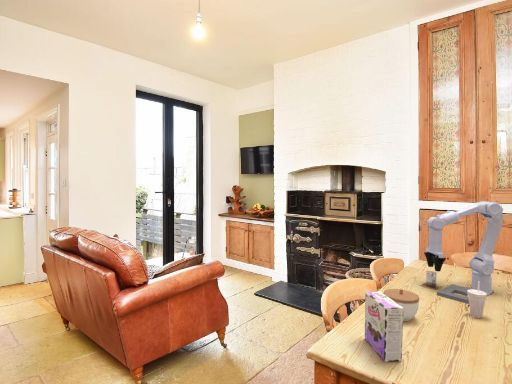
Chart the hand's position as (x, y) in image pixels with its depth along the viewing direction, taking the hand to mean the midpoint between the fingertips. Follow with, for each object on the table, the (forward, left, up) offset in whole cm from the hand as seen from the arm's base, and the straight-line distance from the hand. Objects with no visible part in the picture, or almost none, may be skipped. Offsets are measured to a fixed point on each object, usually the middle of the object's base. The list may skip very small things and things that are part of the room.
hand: (434, 268), depth 153 cm
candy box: (+71, +13, -11) cm, 73 cm away
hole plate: (0, +12, -10) cm, 16 cm away
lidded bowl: (+43, +5, -11) cm, 45 cm away
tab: (-2, -2, -10) cm, 11 cm away
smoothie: (+18, +23, -11) cm, 32 cm away
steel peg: (-2, -2, -9) cm, 10 cm away
